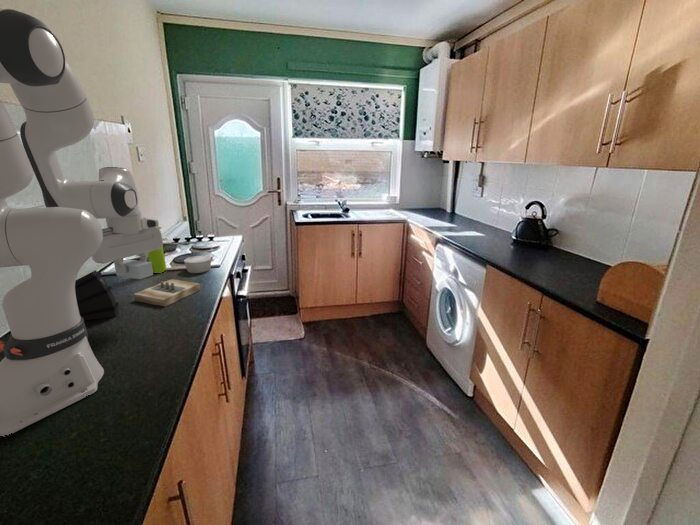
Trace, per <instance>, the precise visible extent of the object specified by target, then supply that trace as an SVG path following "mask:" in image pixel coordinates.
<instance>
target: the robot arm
mask: <svg viewBox="0 0 700 525" xmlns="http://www.w3.org/2000/svg"><path fill="white" fill-rule="evenodd" d="M0 84H10V87H11V89H12V91H13V93H14V95H15V96H16V98H17V101H18V102H19V104H20V106H21V108H23V111H24V113H25V118H26V119H25V121H23V122H22V124H21V125H20V127H19V128H20V129H19V133H20V134H19V133H18V130H17V129H16V127H15V124H14V123H13V121H12V120H13V119H12V118H11V116H10V114H9V112H8V110H7V109H6V107H5V105H4V103H3V101H2V99H1V98H0V269H2V268H9V267H11V268H12V267H21V266H25V267H26V266H28V267H29V269H30V278H28V279H26V280H23V281H22V282H19V284H16V285H15V286H13V287H12V288H10V289H9V290H8V291H7V292H6V293H5V295H4V296H3V299H2V301H1V302H2V304H1V308H2V310H3V312H4V315H5V318H6V322H7V325H8V327H9V330H10V336H9V338H8V339H7V341H6V342H5V341H2V340H0V353H2V352H3V353H4V356H5V357H4V358H3V359H1V361H0V436H3V437H6V436H5V435H7V436H9V434H10V435H11V433H12V434H14V433H16V432H18V431H20V430H22V429H24V428H26V427H28V426H30V425H32V424H34V423H36V422H38V421H40V420H43V419H45V418H46V417H49V416H50V415H53V414H54V413H56V412H58V411H60V410H62V409H65V408H66V407H68V406H70V405H72V404H74V403H77V402H78V401H81V400H82V399H84V398H85V399H86V398H87V397H89V396H90V395H92V394H94V393H95V392H97V390H98V386H99V385H98V384H99V382H100V380H102V378H103V376H104V374H105V370H104V368H103V367H102V365H101V364H100V362H99V361H98V359H97V358H96V356H95V353H94V351H93V350H92V348H91V345H90V342H89V341H88V339H89V337H88V336H89V335H88V330H87V327H86V324H85V320H83V318H82V317H81V316H80V313H79V309H78V305H77V299H76V293H75V282H76V280H77V277H78V274H79V272H80V269H81V268H82V267H83V266H84V265H85V263H86V262H87V261H88V260H89V259H90V258H91V257H92V260H93V261H94V262H95V263H97V264H107V263H110V262H113V264H114V263H115V264H116V265H117V266H118V267H120V272H121V273H127V272H129V270H128V269H129V267H128V266H124V264H123V263H122V262H124V259H126V258H127V259H128V258H130V257H135V256H138V255H139V256H140V260H139V261H145V262H148V259H149V257H148V252H150V251H153V250H157V249H161V248H162V246H163V245H164V242H163V235H162V232H161V229H159V228H157V227H159V221H158V220H157V219H154V218H148V217H143V216H142V211H141V210H140V207H139V195H138V190H137V186H136V182H135V179H134V176H133V174H132V172H131V171H130V169H127V168H125V167H117V166H116V167H115V166H107V167H106V166H104V167H101V168H100V169H99V170H98V180H95V181H93V180H92V181H88V180H87V181H74V180H70V179H68V178H66V177H65V176H64V174H63V171H62V169H61V165H60V163H59V161H58V160H59V159H58V158H57V157H58V156H57V154H56V152H57V151H58V150H61V149H64V148H67V147H69V146H72V145H76V144H77V143H79V142H81V141H83V140H84V139H85V138H86V137H87V136H89V134H90V133H91V132H92V131H93V127H94V124H95V117H94V113H93V109H92V107H91V105H90V102H89V100H88V98H87V95H86V93H85V91H84V89H83V87H82V85H81V83H80V81H79V80H78V78H77V76H76V74H75V72H74V71H73V69H72V68H71V66H70V64H69V63H68V61H67V60H66V56H65V52H64V49H63V47H62V44H61V43H60V41H59V39H58V38H57V36H56V35H55V34H54V33H53V31H52V30H51V29H50V28H49V27H48V26H47V25H46V24H45V23H44V22H43V21H42V20H40V19H39V18H36V17H35V16H32V15H30V14H27V13H25V12H22V11H20V10H19V11H18V10H15V9H10V8H6V9H5V8H0ZM34 175H35V178H36V181H37V182H38V185H39V187H40V190H41V193H42V197H43V202H44V205H45V207H44V206H43V207H26V208H25V207H24V208H21V207H20V208H16V207H15V208H13V207H10V206H9V204H8V203H7V198H10V197H12V196H14V195H16V194H18V193H20V192H21V191H23V190H25V189H26V188H27V187H28V186H30V184H31V182H32V180H33V176H34ZM100 219H105V223H106V227H103V228H102V226H101V224H100V222H99V220H100ZM163 247H164V246H163ZM88 395H89V396H88ZM86 396H87V397H86Z"/></svg>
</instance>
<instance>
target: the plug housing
mask: <svg viewBox="0 0 700 525" xmlns="http://www.w3.org/2000/svg"><path fill="white" fill-rule="evenodd" d="M123 260H124V259H123ZM122 263H123V264H124V266H128V267H129V269H128V270H129V272H127V273H121V272H120V267H118V266H117V265H116V264H115V263H114V262H113V264H114V269H115V274H116V277H124V278H130V279H135V280H142V279H146V278H148V277H152V276H153V275H154V274H153V269H152V264H151V262H149V261H146V262H145V261H140V260H135V259H128V258H127V259H125V260H124V262H122Z"/></svg>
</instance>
